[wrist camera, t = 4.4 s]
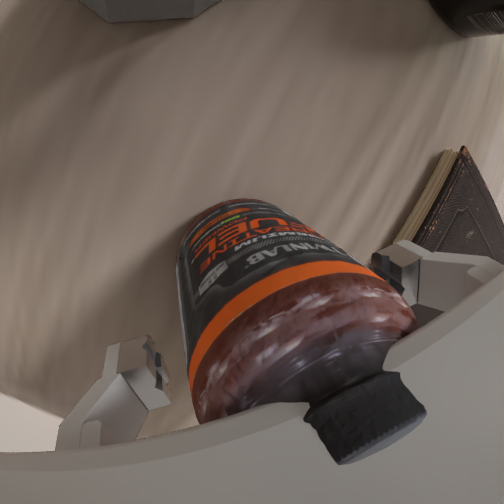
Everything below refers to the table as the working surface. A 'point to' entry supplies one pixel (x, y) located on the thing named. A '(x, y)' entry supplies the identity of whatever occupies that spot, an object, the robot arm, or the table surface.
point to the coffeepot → (147, 9)
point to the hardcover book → (454, 217)
